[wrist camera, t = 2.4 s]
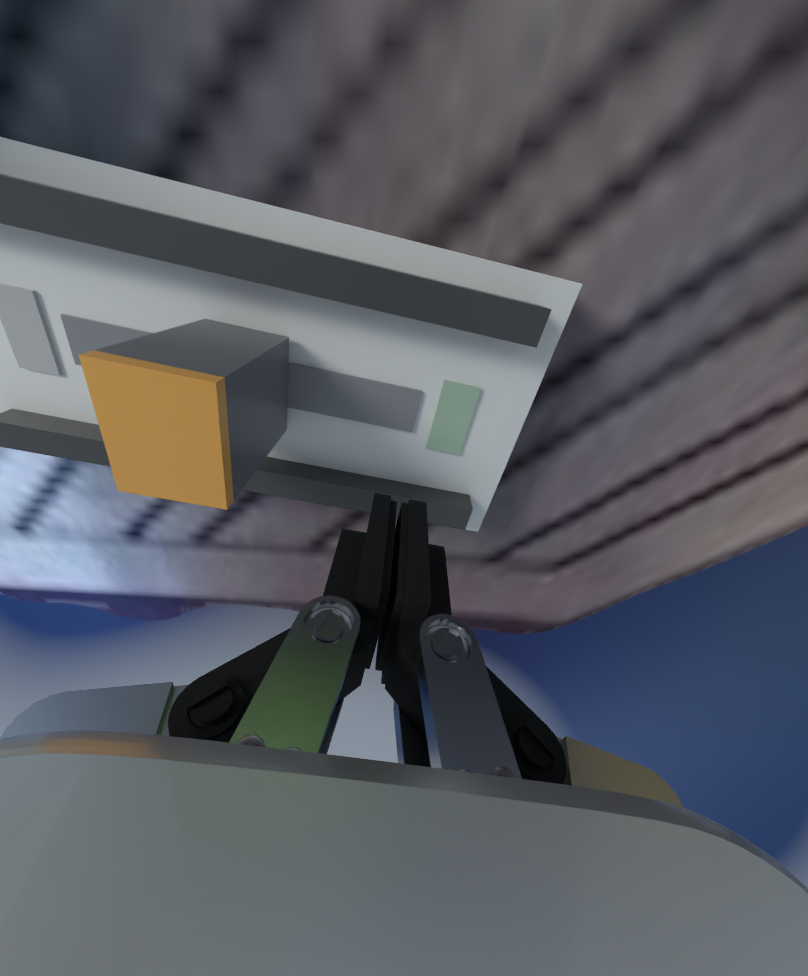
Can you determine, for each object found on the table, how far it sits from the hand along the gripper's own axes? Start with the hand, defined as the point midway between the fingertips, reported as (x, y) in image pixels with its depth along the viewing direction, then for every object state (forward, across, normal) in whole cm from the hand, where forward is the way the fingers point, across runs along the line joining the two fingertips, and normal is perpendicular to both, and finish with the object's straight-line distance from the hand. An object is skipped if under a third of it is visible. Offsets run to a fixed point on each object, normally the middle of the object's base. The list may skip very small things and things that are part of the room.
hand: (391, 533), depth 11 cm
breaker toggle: (+10, +8, -1) cm, 13 cm away
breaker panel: (+13, +8, -1) cm, 15 cm away
